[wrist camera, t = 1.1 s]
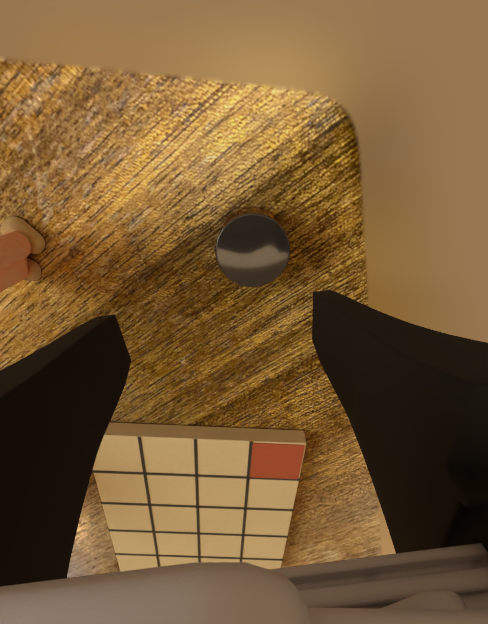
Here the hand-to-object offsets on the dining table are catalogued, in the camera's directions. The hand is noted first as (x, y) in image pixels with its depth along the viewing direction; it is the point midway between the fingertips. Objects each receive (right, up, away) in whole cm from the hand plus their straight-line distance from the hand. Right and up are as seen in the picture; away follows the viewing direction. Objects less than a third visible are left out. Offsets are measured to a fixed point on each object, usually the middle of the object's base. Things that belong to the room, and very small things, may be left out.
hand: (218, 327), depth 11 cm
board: (-4, -21, +22) cm, 31 cm away
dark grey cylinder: (+2, +5, +9) cm, 11 cm away
